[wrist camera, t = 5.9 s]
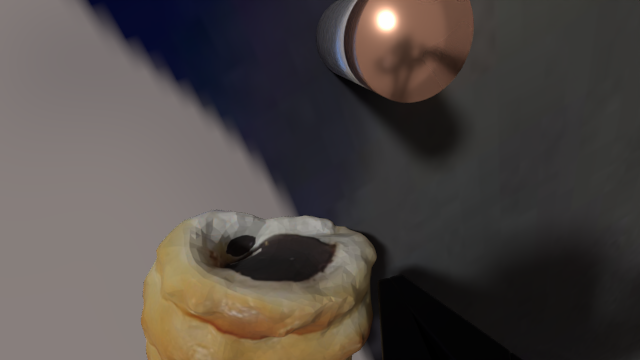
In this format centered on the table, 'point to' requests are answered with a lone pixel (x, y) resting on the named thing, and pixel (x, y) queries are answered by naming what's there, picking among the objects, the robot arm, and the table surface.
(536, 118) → the table surface
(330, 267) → the pastry
